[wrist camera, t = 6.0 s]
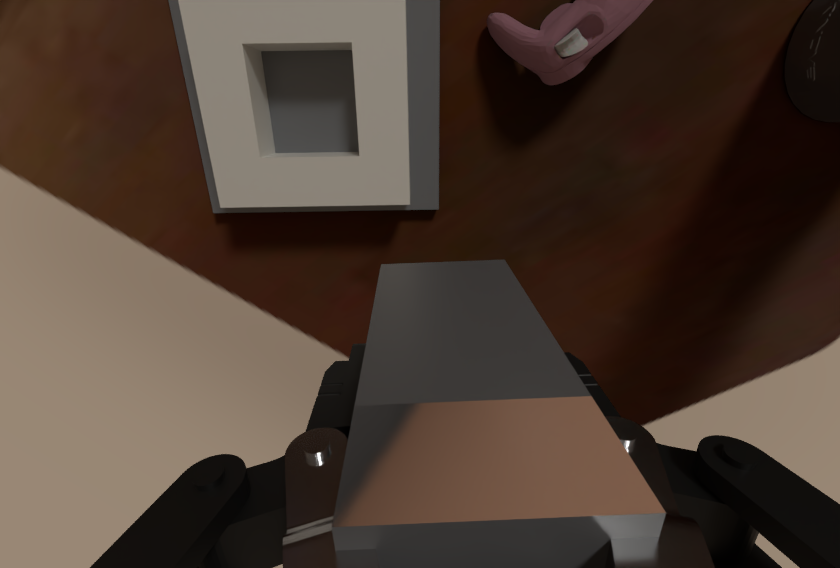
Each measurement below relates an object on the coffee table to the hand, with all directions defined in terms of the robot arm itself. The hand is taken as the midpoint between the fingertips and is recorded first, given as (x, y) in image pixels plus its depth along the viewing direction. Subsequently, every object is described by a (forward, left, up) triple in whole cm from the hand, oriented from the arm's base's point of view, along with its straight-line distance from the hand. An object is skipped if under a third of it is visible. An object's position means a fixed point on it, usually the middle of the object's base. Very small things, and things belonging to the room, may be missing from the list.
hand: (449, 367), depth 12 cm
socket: (+7, -8, -19) cm, 22 cm away
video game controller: (-9, -13, -20) cm, 25 cm away
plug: (0, 0, -3) cm, 3 cm away
